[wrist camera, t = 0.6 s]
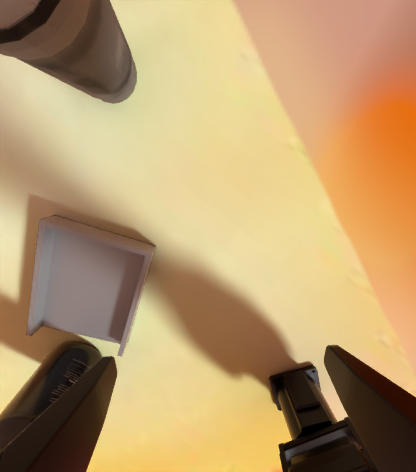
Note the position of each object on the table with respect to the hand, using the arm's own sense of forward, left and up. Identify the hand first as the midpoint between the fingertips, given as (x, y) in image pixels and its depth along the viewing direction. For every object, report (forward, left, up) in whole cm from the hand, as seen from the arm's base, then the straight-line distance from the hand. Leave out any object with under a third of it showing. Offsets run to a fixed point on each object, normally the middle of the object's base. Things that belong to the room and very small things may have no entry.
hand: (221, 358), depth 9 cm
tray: (-1, +14, -14) cm, 20 cm away
